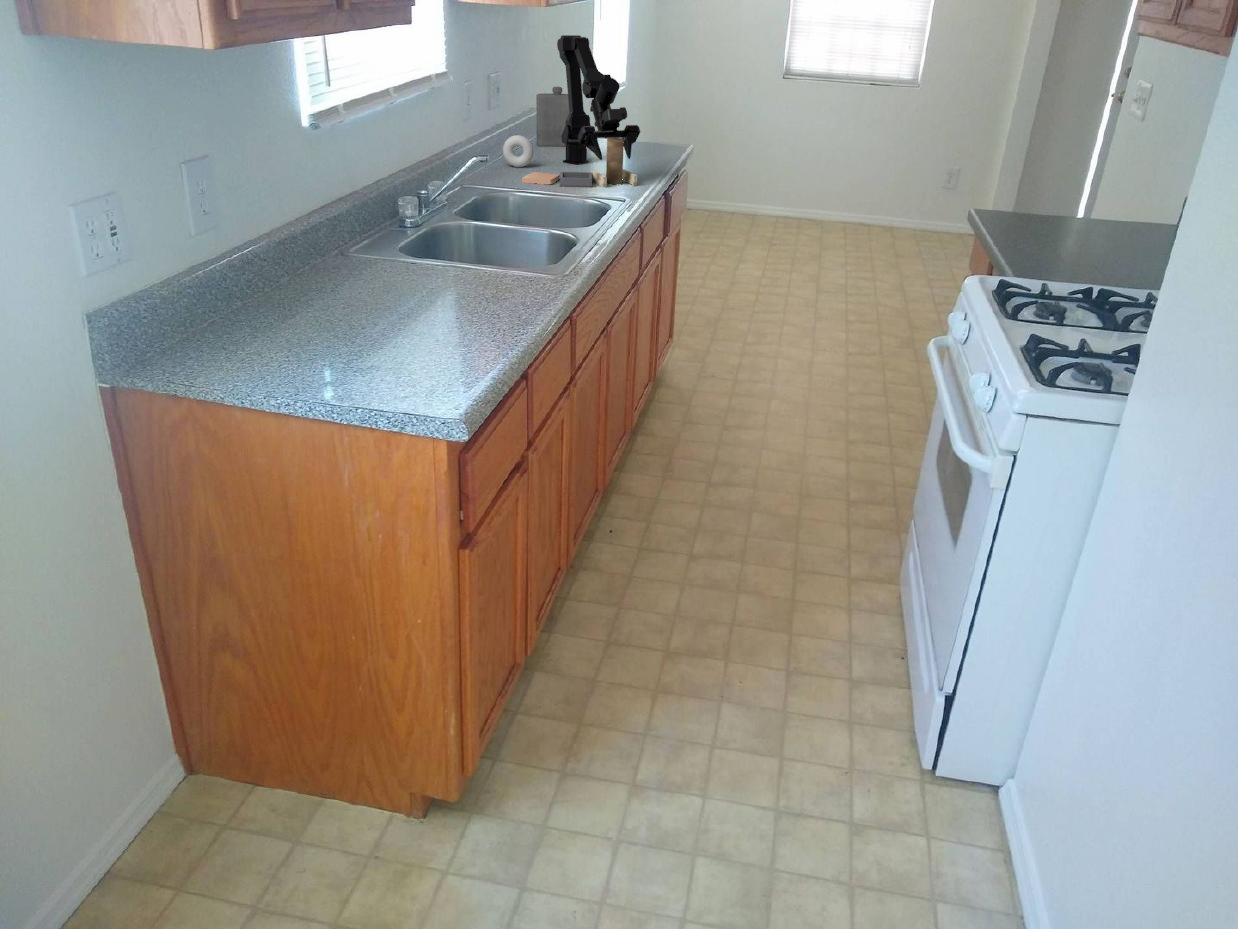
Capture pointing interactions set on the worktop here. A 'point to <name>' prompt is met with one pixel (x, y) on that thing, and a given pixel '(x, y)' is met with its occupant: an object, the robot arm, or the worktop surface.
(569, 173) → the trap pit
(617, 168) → the walnut post
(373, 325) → the worktop surface
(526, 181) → the pad
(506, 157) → the donut
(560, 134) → the flask
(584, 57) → the robot arm
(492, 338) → the worktop surface
